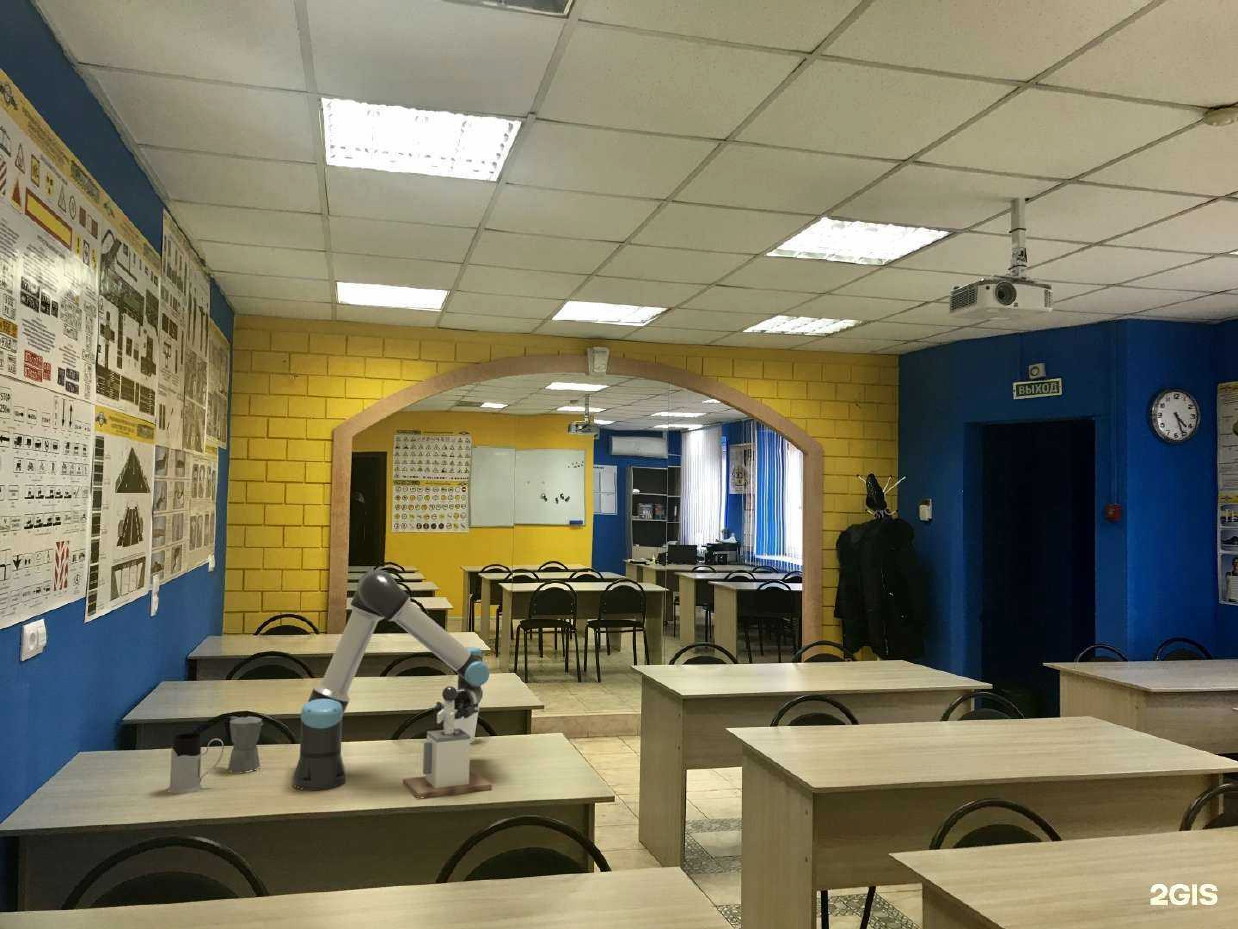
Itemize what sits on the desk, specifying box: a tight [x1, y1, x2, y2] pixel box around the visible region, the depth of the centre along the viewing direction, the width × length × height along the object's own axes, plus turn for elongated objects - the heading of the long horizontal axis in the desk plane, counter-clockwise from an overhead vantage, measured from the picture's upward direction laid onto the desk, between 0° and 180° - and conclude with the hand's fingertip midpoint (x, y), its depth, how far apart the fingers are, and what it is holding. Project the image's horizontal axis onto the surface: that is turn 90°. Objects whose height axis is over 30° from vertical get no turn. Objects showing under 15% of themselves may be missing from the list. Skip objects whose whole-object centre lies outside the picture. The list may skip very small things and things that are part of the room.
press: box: [422, 728, 471, 788], centre depth 271 cm, size 12×10×14 cm
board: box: [402, 770, 493, 799], centre depth 272 cm, size 22×16×2 cm
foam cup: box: [454, 703, 480, 744], centre depth 325 cm, size 10×9×13 cm
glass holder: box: [167, 732, 225, 795], centre depth 266 cm, size 9×14×15 cm, turn 111°
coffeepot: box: [223, 710, 264, 773], centre depth 286 cm, size 15×9×18 cm, turn 67°
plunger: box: [441, 686, 458, 736], centre depth 272 cm, size 7×7×26 cm
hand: (444, 718), depth 267 cm, fingers closed on plunger, 3 cm apart
